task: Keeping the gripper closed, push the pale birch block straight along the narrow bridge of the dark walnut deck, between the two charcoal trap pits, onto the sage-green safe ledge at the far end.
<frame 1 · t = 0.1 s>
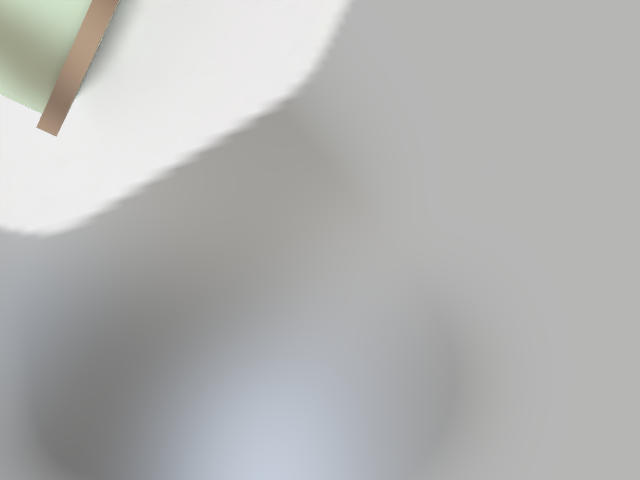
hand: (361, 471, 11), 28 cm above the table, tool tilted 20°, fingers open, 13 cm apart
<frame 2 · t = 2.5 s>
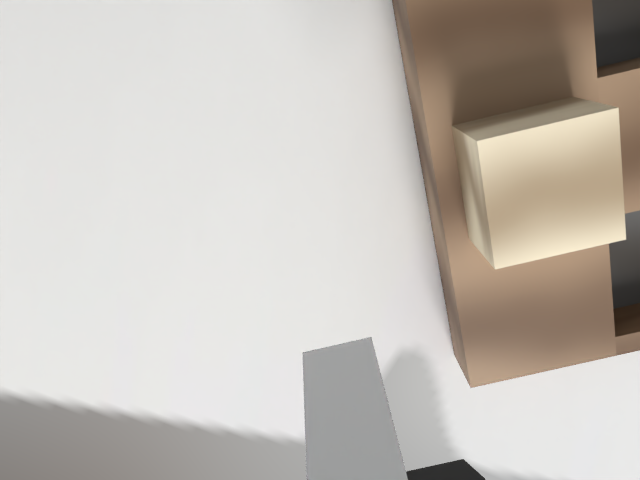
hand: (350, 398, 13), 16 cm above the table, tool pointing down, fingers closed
birch block: (519, 170, 25), point 3 cm above the table, touching trap deck
trap deck: (624, 125, 28), on the table
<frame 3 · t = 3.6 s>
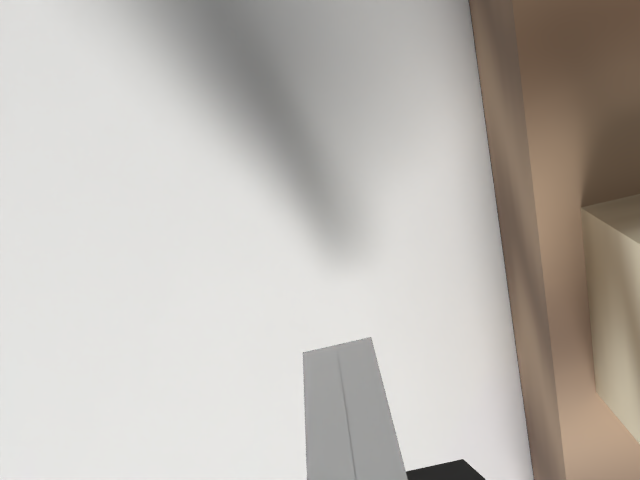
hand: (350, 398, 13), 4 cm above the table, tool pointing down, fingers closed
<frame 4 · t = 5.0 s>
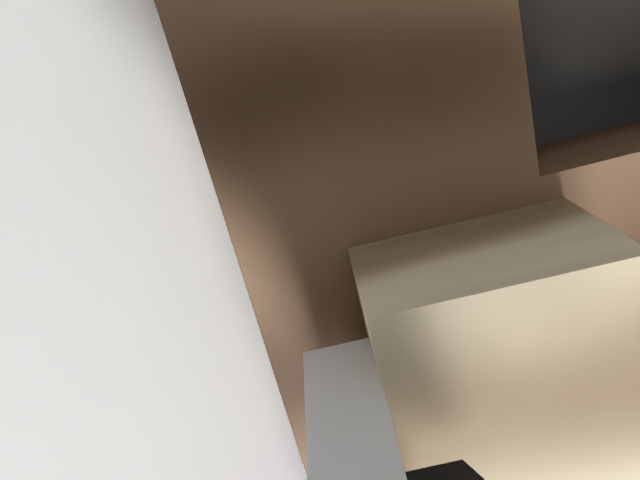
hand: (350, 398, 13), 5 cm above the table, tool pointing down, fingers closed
birch block: (470, 319, 14), point 3 cm above the table, touching gripper
trap deck: (597, 229, 17), on the table
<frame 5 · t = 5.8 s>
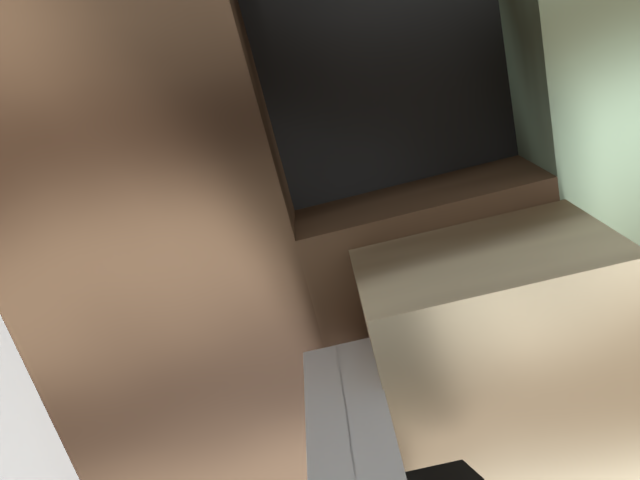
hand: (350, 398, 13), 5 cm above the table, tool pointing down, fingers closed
birch block: (471, 320, 14), point 3 cm above the table, touching gripper
trap deck: (404, 280, 17), on the table
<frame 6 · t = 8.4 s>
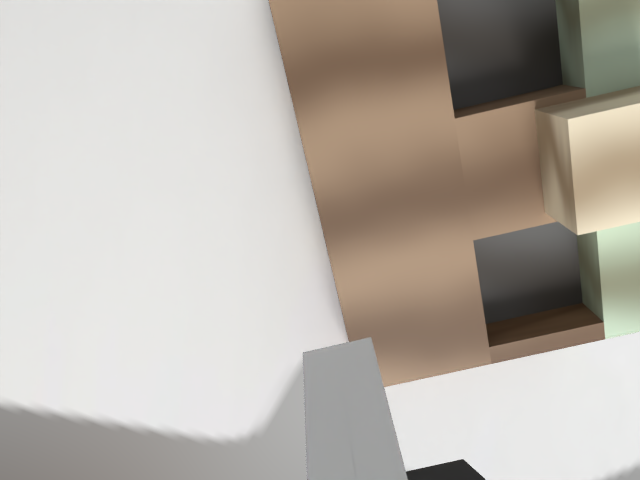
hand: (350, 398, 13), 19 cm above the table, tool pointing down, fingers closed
birch block: (592, 150, 28), point 3 cm above the table, touching trap deck
trap deck: (496, 157, 31), on the table
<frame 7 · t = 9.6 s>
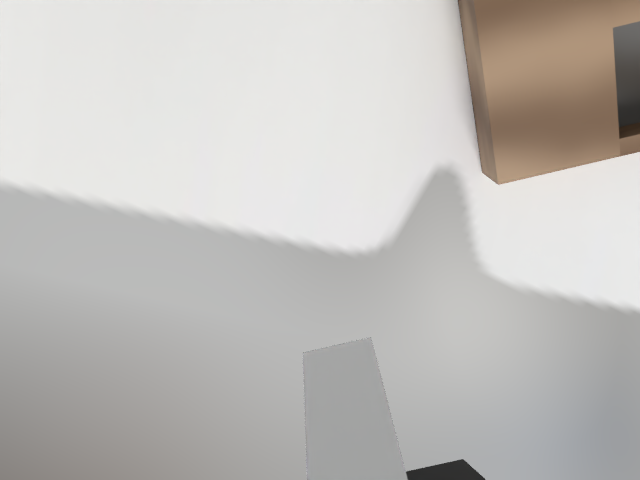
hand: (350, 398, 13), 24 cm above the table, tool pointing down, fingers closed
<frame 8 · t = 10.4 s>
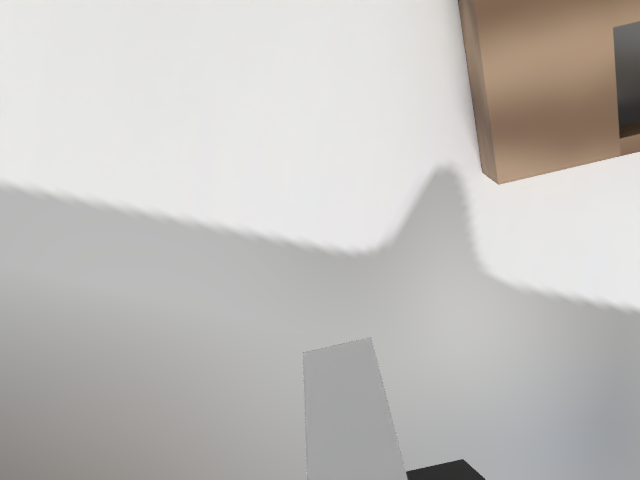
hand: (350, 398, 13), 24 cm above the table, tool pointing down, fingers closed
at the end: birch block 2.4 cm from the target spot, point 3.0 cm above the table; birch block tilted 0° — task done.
